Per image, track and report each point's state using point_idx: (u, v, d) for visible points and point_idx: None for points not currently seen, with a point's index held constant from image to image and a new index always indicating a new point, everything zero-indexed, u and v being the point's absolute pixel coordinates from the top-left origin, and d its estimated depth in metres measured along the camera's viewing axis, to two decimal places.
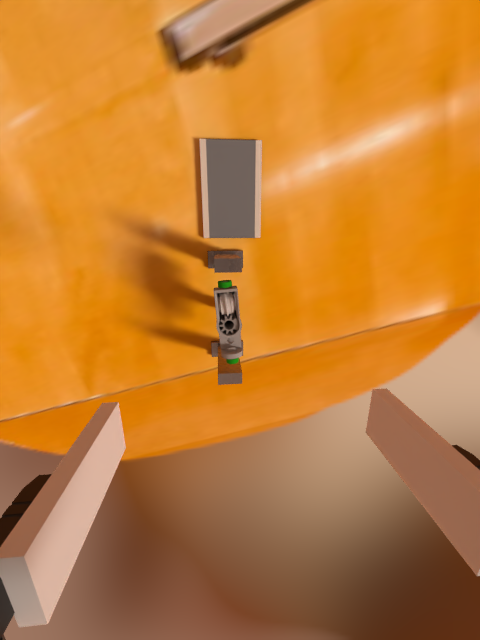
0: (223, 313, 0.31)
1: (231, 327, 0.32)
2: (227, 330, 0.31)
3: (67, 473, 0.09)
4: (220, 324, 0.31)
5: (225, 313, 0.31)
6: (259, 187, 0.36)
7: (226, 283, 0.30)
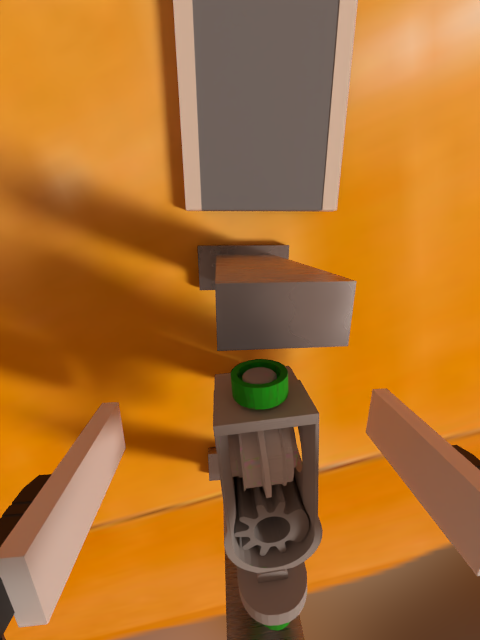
0: None
1: (277, 523, 0.09)
2: (265, 545, 0.08)
3: (67, 473, 0.09)
4: (238, 523, 0.08)
5: None
6: (346, 60, 0.12)
7: (270, 391, 0.07)
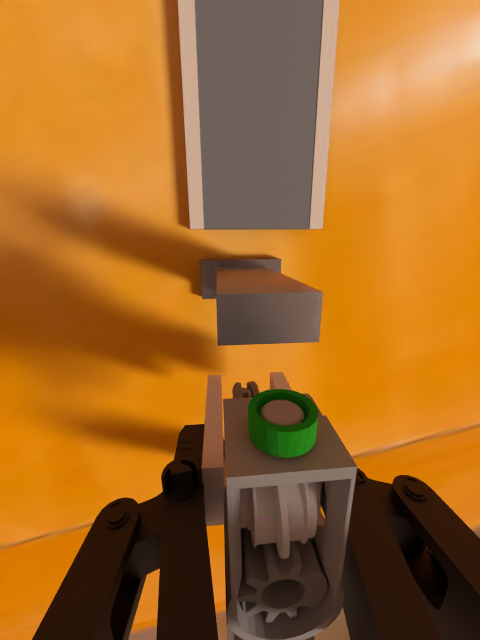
0: None
1: (287, 581, 0.07)
2: (273, 610, 0.07)
3: (216, 420, 0.11)
4: (243, 583, 0.07)
5: None
6: (327, 104, 0.14)
7: (299, 436, 0.05)
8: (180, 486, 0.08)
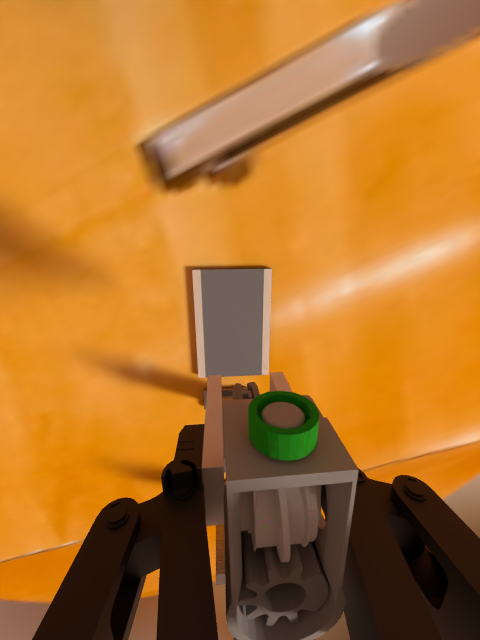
0: None
1: (288, 584, 0.07)
2: (273, 614, 0.07)
3: (216, 420, 0.11)
4: (243, 586, 0.07)
5: None
6: (268, 321, 0.28)
7: (300, 439, 0.05)
8: (180, 486, 0.08)
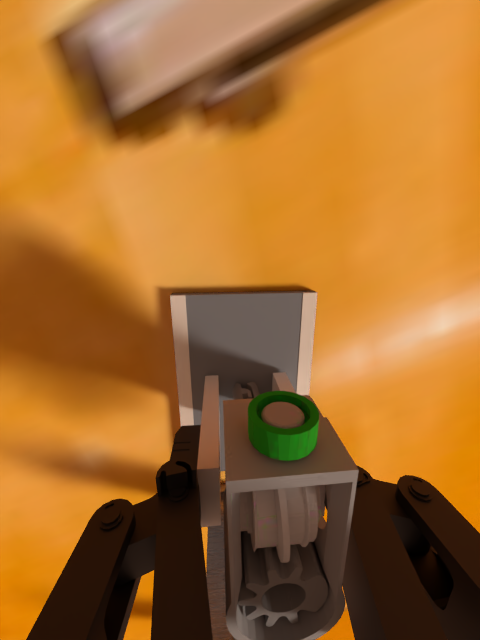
0: None
1: (288, 585, 0.07)
2: (273, 614, 0.07)
3: (213, 421, 0.11)
4: (243, 586, 0.07)
5: None
6: (306, 382, 0.16)
7: (300, 439, 0.05)
8: (175, 487, 0.08)
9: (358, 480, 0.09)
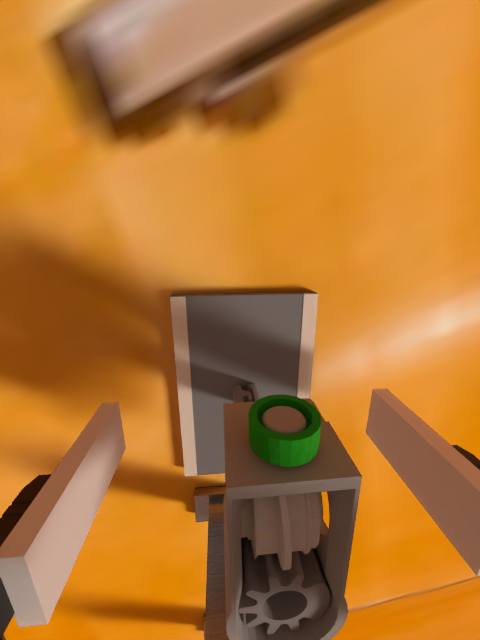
0: None
1: (289, 591, 0.07)
2: (274, 622, 0.07)
3: (67, 473, 0.09)
4: (243, 593, 0.07)
5: None
6: (307, 383, 0.16)
7: (302, 445, 0.05)
8: None
9: None
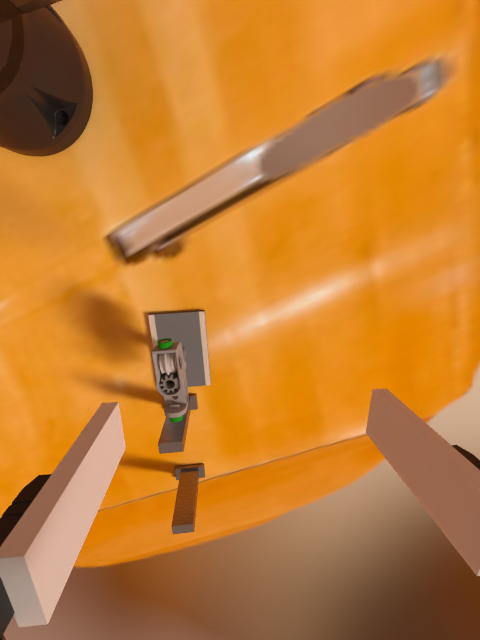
0: (164, 372, 0.30)
1: (173, 385, 0.31)
2: (168, 389, 0.31)
3: (67, 473, 0.09)
4: (161, 383, 0.30)
5: (166, 372, 0.30)
6: (206, 347, 0.40)
7: (165, 344, 0.29)
8: None
9: None
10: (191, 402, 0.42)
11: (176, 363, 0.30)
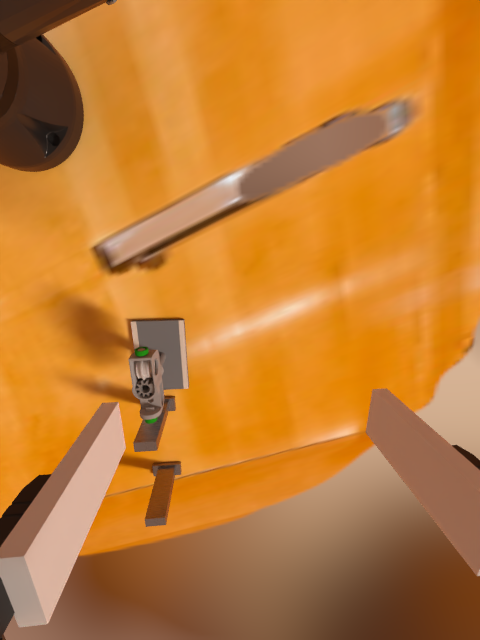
0: (140, 377, 0.33)
1: (148, 390, 0.34)
2: (143, 393, 0.33)
3: (67, 473, 0.09)
4: (137, 387, 0.33)
5: (142, 377, 0.33)
6: (184, 353, 0.42)
7: (141, 352, 0.31)
8: None
9: None
10: (169, 404, 0.45)
11: (151, 370, 0.32)
